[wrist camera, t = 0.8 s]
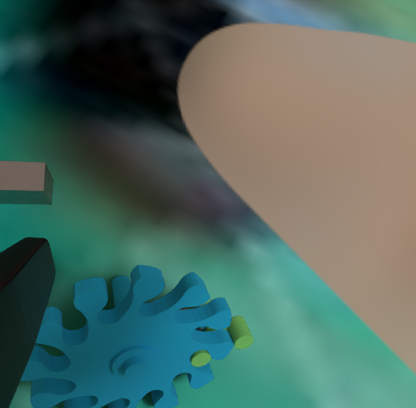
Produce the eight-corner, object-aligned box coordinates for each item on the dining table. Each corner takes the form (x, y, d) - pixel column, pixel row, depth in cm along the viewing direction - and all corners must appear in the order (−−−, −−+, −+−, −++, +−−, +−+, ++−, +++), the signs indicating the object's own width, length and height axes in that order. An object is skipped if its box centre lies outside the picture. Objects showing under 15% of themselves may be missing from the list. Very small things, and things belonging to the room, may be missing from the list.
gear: (13, 453, 18) (12, 293, 14) (23, 349, 23) (25, 203, 18) (229, 416, 22) (286, 283, 18) (200, 334, 27) (239, 212, 22)
